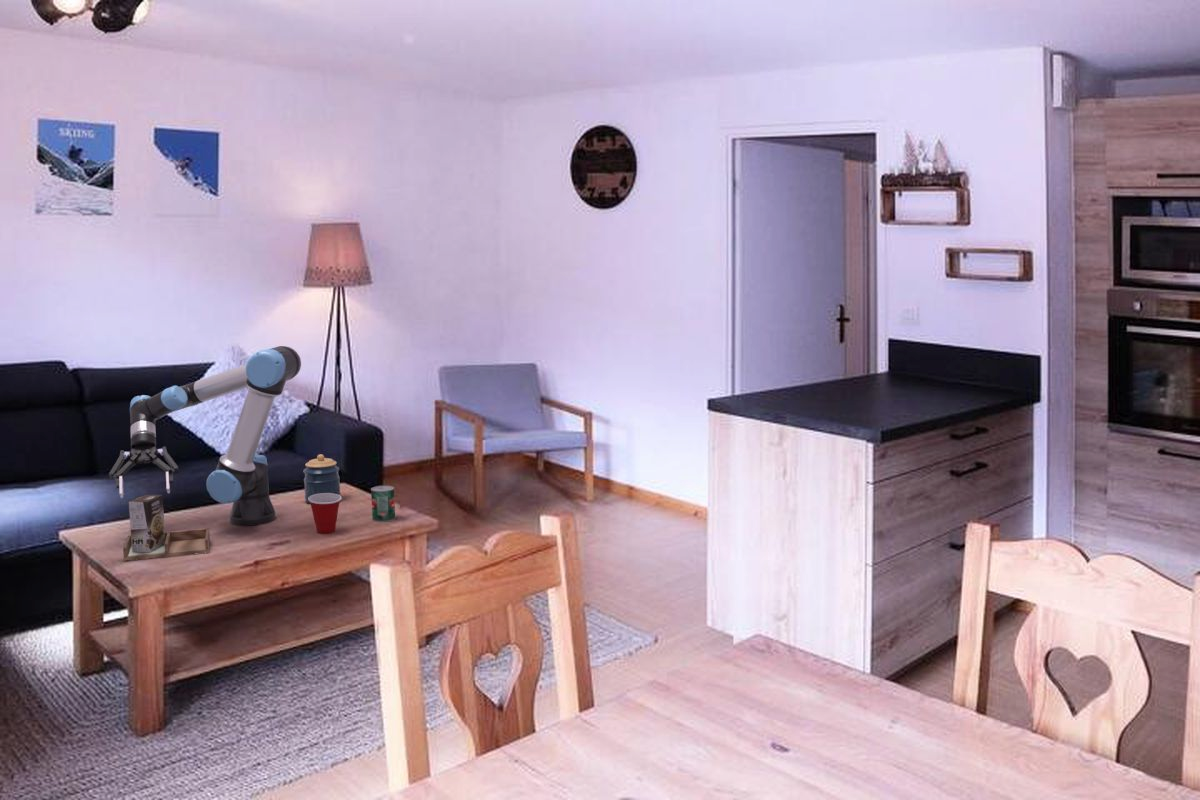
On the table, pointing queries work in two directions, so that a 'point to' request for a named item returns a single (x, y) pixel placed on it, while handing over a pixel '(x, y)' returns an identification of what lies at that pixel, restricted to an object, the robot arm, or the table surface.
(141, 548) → the coffee box
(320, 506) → the plastic cup
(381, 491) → the canned tomato
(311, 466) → the canister
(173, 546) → the tray
